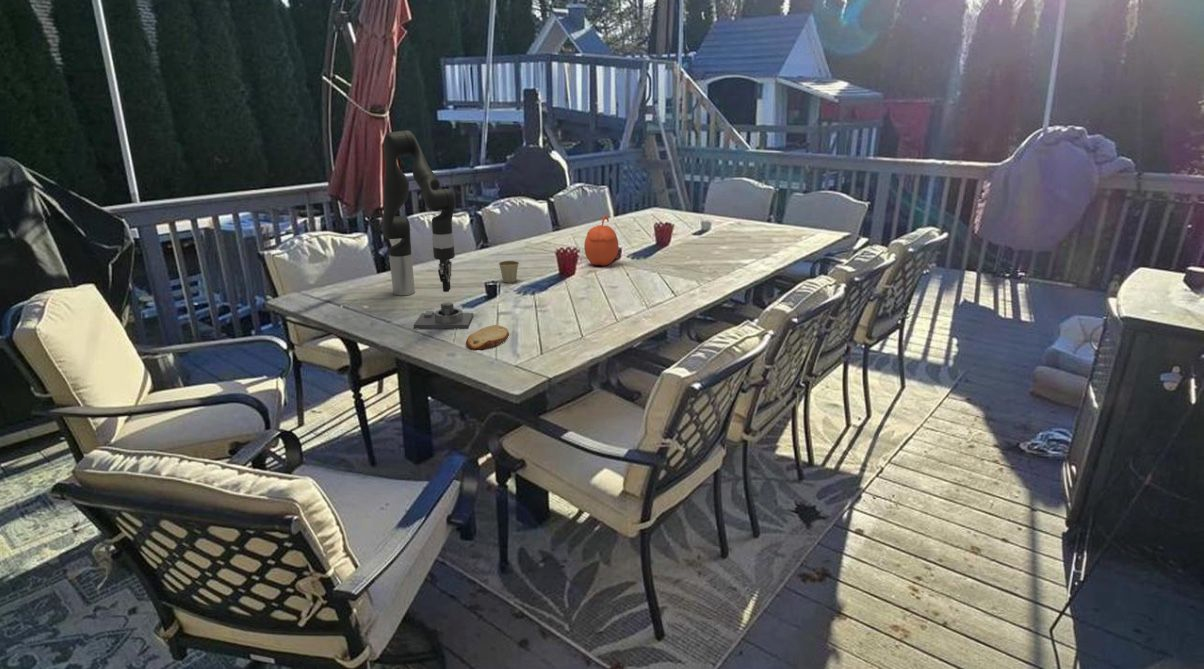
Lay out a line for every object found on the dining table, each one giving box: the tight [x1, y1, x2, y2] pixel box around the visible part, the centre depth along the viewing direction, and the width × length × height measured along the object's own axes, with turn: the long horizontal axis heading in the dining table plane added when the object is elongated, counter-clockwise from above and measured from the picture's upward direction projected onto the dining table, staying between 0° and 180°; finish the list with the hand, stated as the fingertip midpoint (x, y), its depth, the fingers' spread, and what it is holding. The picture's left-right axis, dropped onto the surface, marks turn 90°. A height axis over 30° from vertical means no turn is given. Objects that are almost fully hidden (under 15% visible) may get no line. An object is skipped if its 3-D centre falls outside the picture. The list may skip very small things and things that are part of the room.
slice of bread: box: [465, 324, 510, 351], centre depth 232 cm, size 18×18×4 cm
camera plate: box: [413, 310, 475, 330], centre depth 248 cm, size 14×20×3 cm
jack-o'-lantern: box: [584, 215, 619, 267], centre depth 330 cm, size 18×17×25 cm
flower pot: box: [498, 260, 520, 284], centre depth 302 cm, size 9×9×9 cm
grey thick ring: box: [434, 307, 464, 324], centre depth 247 cm, size 10×10×3 cm
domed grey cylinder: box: [440, 302, 455, 315], centre depth 246 cm, size 6×5×6 cm
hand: (446, 290), depth 243 cm, fingers closed
